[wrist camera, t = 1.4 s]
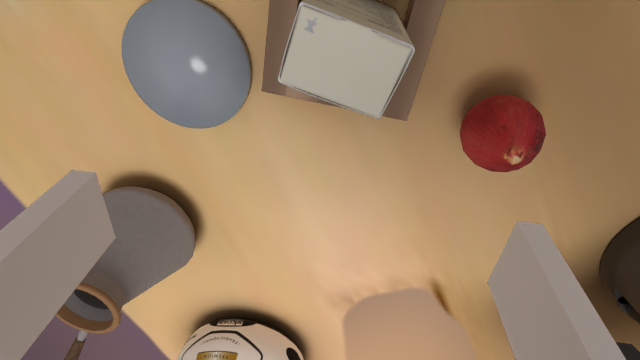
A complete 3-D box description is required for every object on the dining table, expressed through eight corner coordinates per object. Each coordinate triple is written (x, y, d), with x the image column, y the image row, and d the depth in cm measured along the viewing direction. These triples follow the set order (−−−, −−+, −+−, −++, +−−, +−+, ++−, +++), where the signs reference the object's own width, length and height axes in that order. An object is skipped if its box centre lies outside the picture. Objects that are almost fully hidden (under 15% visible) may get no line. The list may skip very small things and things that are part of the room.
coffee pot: (116, 155, 39) (-7, 257, 26) (218, 205, 41) (150, 322, 28) (85, 276, 50) (-13, 390, 37) (167, 311, 52) (101, 430, 39)
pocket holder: (453, -51, 26) (461, -50, 24) (404, 109, 33) (406, 120, 31) (285, -85, 26) (277, -88, 24) (268, 81, 33) (261, 91, 31)
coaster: (256, 10, 30) (253, 12, 29) (247, 134, 36) (245, 139, 35) (121, -17, 30) (113, -16, 29) (134, 111, 36) (129, 115, 35)
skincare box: (303, 34, 30) (269, 81, 20) (322, -23, 28) (293, -4, 18) (377, 64, 31) (380, 124, 21) (401, 10, 29) (417, 47, 18)
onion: (533, 82, 30) (579, 121, 24) (515, 146, 33) (552, 197, 27) (458, 81, 31) (482, 119, 24) (447, 144, 34) (466, 194, 27)
